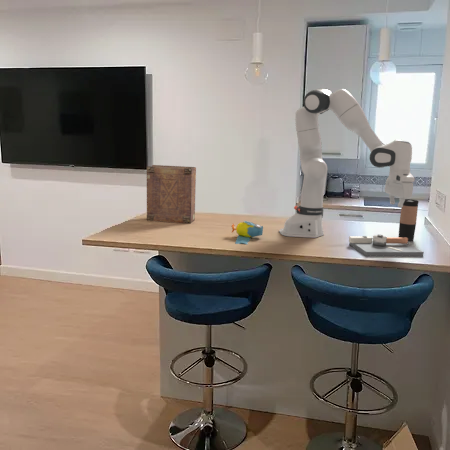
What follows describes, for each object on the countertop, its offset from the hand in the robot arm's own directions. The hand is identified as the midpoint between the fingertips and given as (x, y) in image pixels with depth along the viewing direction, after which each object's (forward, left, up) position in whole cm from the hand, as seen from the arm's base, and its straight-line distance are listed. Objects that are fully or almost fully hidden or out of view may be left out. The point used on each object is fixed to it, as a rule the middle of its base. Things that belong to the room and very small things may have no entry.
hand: (396, 205), depth 221 cm
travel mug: (+13, +12, -20) cm, 26 cm away
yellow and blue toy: (-67, +16, -20) cm, 72 cm away
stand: (-7, -8, -19) cm, 22 cm away
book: (-104, +54, -20) cm, 119 cm away
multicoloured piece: (-4, -6, -17) cm, 19 cm away
